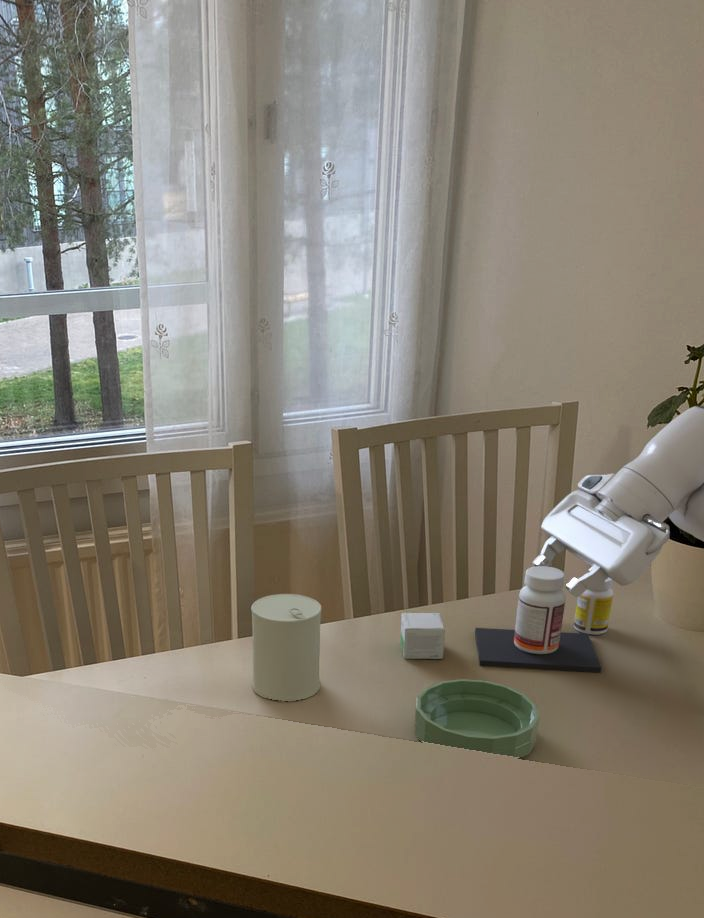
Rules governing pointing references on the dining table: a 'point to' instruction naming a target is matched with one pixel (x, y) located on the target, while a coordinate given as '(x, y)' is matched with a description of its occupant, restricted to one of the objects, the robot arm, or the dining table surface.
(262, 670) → the can
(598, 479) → the robot arm
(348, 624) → the dining table surface
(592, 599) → the supplement bottle
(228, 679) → the dining table surface
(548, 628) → the pill bottle
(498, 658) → the mat
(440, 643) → the small box
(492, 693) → the bowl
